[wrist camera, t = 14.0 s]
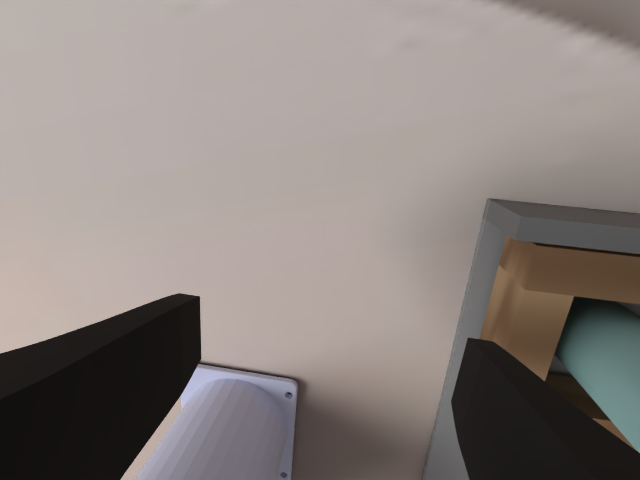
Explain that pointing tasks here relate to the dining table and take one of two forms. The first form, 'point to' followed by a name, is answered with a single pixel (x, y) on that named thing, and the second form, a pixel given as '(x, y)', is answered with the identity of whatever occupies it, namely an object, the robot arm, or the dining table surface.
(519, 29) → the dining table surface
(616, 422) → the dowel
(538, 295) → the socket block
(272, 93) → the dining table surface
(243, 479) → the robot arm
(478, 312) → the board
